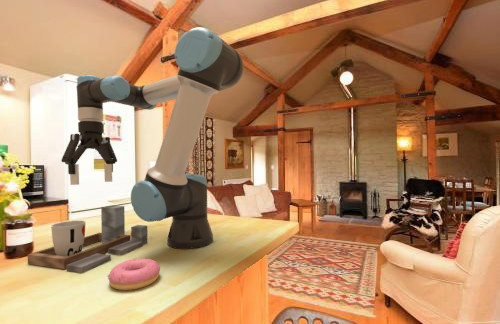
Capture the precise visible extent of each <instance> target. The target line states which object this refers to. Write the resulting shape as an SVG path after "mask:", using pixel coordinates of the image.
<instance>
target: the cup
mask: <svg viewBox="0 0 500 324" xmlns="http://www.w3.org/2000/svg"><path fill="white" fill-rule="evenodd" d="M85 235H86V221H84V220H69V221H62V222H58V223H53V224H52V225H51V239H52V245H53V247H54V249H55V253H56V255H57V256H65V257H67V256H70V255H73V254H76V253H79V252H81V251H83V248H84V246H83V243H84V237H86V236H85Z"/></svg>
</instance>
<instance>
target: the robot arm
mask: <svg viewBox="0 0 500 324" xmlns="http://www.w3.org/2000/svg"><path fill="white" fill-rule="evenodd" d="M174 58H175V63H176V65H177V66H178V68H179V69H178V72H177V75H176V74H175V75H173V76H169V77H167V78H164V79H161V80H158V81H154V82H150V83H147V84H145V85H140V86H138V85H134V84H132V83H129V82H128V81H127V79H125V78H124V77H123V76H120V75H109V76H106V77H102V78H100V77H98V76H95V75H92V74H86V75H85V74H81V75H79V76H78V77H77V79H76V98H77V99H76V100H77V103H76V104H77V120H78V121H79V122H78V123H77V124H78V125H77V127H78V128H77V129H78V131H77V132H78V133H72V134H70V139H69V142H68V144H67V147H66V149H65V151H64V153H63V156H62V157H61V162H62V163H65V165H67V169H68V170H67V171H68V174H69V176H70V177H69V179H70V180H69V182H70V185H71V186H77V185H78V186H79V185H80V165H79V164H78V163H77V162H78V161H79V160H80V158H81V157H82V156H83V154H84V153H85V152H86V150H88V149H91V150H95V151H97V153H98V154H99V155H100V157H101V159H102V160H103V162H105V164H104V168H103V169H104V182H105V183H109V182H110V183H111V182H113V173H114V169H113V168H114V166H113V165H115V164H116V163H117V162H118V158H117V156H116V154H115V152H114V149H113V146H112V143H111V138H110V137H109V136H105V137H103V134H104V132H105V131H104V123H103V122H104V108H103V107H104V106H103V104H105V103H110V102H112V103H116V104H120V105H124V106H125V105H126V106H129V107H133V108H139V109H142V110H154V109H155V108H156V106H157V105H159V104H163V103H166V102H170V101H174V100H175V102H174V105H173V108H172V111H171V114H170V117H169V120H168V124H167V126H166V130H165V133H164V136H163V139H162V142H161V146H160V148H159V151H158V156H157V157H156V161H155V165H154V166H152V167H150V168H148V169H147V170H146V175H145V178H144V180H140V181H138V182H137V183H135V184H134V185H133V186H132V188H131V193H130V203H131V206H132V208H133V212H134V213H135V215H136V216H137V217H138V218H139V219H141V220H143V221H145V222H148V223H152V222H153V223H154V222H160V221H163V220H164V219H169V218H172V219H171V220H172V221H171V224H170V227H169V230H168V234H167V237H166V238H167V242H166V244H167V247H170V248H172V249H183V250H185V249H186V250H187V249H188V250H189V249H196V248H202V247H206V246H208V245H210V244H212V243H213V241H214V237H213V236H214V235H213V234H214V233H213V231H212V228H211V225H210V221H209V220H208V188H209V187H208V180H207V177H206V176H205V175H203V174H191V173H186V172H187V168H188V166H189V163H190V160H191V156H192V154H193V150H194V149H195V144H196V142H197V139H198V136H199V133H200V131H201V128H202V124H203V121H204V118H205V115H206V112H207V110H208V106H209V103H210V102H211V101H210V100H211V98H212V96H214V95H216V94H218V93H219V92H222V91H225V90H228V89H231V88H233V87H235V86H236V85H237V84H238V83H239V82H240V80H241V79H242V77H243V74H244V67H245V66H244V60H243V57H242V55H241V54H240V53H239V52H238V51H237V50H236V49H235V48H234V47H232V46H231V45H230V44H229V43H228V42H226V41H225V40H223V39H222V38H221V37H220V35H218V33H215V32H213V31H211V30H210V29H209V28H206V27H202V26H199V27H194V28H191V29H189V30H188V31H186V32H184V33H183V34H182V36H181V37H180V38H179V39H178V41H177V43H176V45H175V49H174Z"/></svg>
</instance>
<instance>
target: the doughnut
mask: <svg viewBox="0 0 500 324" xmlns="http://www.w3.org/2000/svg"><path fill="white" fill-rule="evenodd" d="M160 271H161V266H160V265H159V264H158V262H157V261H156V260H154V259H153V258H152V259H149V258H132V259H129V260H125V261H122V262H120V263H118V264H117V265H115V266H114V267H112V268H111V269H110V271H109V274H108V275H107V277H108V278H107V279H108V282H109V285H110V286H111V287H112V288H114V289H116V290H120V291H132V289H134V290H138V288H139V289H142V288H144V287H147V286H149V285H151V284H153V283H154V282H155V281H156V280H157V279H158V278H159V275H160Z"/></svg>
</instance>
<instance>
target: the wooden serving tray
mask: <svg viewBox="0 0 500 324" xmlns="http://www.w3.org/2000/svg"><path fill="white" fill-rule="evenodd" d="M100 211H101V212H100V213H101V214H100V215H101V232H96V233H93V234H90V235H87V236H85V237H84V243H83V247H86V246H88V245H91V244H95V243H97V242H101V243H102V244H99V245H96V246H93V247H91V248H90V247H89V248H87V249H83V250H82V251H81V252H79V253H76V254H73V255H70V256H67V257H65V256H57V255H56V253H55V249H54V246H51V247H47V248H45V249H41V250H38V251H35V252H31V253H28V254H27V264H28V265H33V266H41V267H47V268H53V269H59V270H60V269H62V270H65V269H66V270H67V265H68V264H71V263H73V262H76V261H78V260H81V259H84V258H86V257H89V256H91V255H94V254H96V253H98V254H106V253H108V249H109V248H112V247H114V246H117V245H120V244H122V243H125V242H127V241H130V240H131V235H130V234H126V231H125V228H126V226H125V223H126V222H125V205H107V206H102V207H101V208H100Z"/></svg>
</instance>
